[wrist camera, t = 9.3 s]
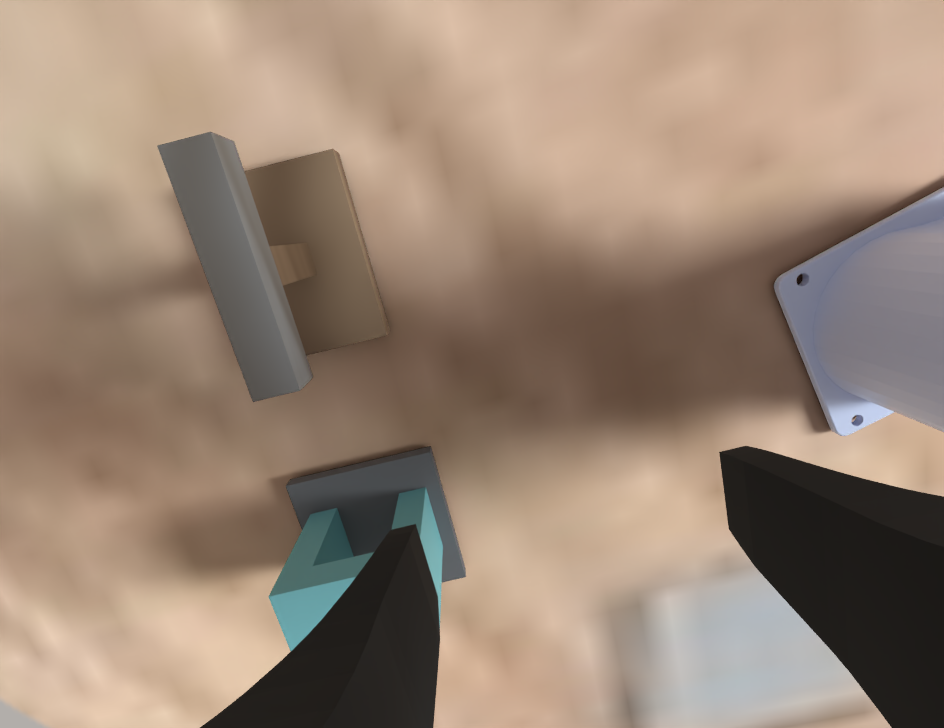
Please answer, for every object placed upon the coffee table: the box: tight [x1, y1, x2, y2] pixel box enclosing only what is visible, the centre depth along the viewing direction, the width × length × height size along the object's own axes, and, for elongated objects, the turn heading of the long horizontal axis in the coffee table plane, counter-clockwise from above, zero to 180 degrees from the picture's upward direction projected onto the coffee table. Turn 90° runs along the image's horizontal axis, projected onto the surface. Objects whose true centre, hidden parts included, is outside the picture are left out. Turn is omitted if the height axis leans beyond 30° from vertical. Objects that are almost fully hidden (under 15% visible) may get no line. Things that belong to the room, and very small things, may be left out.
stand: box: [158, 132, 390, 402], centre depth 17 cm, size 5×7×7 cm
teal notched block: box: [269, 487, 443, 651], centre depth 20 cm, size 5×3×5 cm, turn 104°
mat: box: [286, 446, 466, 582], centre depth 23 cm, size 6×6×1 cm
